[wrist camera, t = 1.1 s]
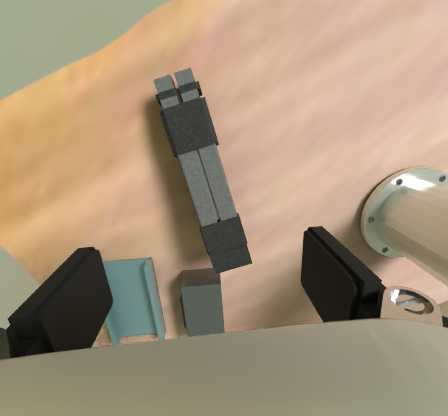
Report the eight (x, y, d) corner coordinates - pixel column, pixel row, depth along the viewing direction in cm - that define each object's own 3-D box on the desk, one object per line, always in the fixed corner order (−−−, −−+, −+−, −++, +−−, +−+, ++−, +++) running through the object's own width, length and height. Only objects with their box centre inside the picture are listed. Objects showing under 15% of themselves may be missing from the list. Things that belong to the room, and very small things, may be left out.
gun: (217, 258, 32) (211, 285, 22) (174, 118, 31) (148, 79, 21) (249, 249, 32) (257, 271, 22) (206, 107, 31) (194, 63, 21)
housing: (219, 267, 33) (220, 283, 29) (223, 322, 36) (225, 342, 33) (180, 270, 32) (177, 287, 29) (188, 325, 36) (186, 346, 33)
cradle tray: (151, 257, 31) (148, 266, 29) (166, 330, 36) (163, 342, 34) (96, 262, 31) (89, 271, 29) (118, 335, 36) (113, 347, 34)
